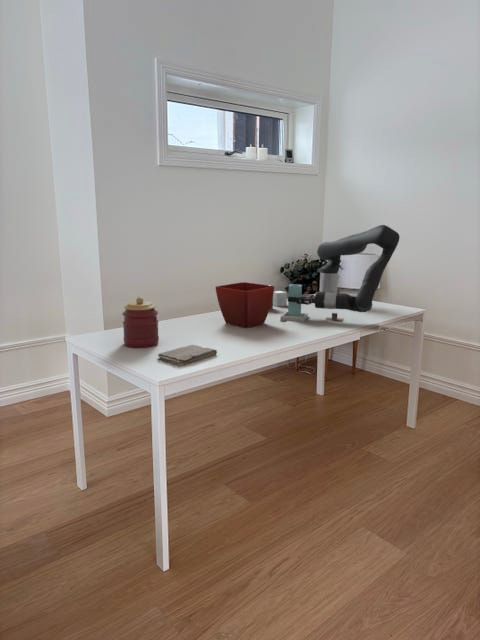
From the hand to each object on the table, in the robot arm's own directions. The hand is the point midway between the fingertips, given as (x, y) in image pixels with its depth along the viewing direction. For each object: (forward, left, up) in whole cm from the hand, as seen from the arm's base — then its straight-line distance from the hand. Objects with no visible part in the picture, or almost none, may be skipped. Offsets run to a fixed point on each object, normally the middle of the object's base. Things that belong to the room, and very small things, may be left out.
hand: (289, 298), depth 220 cm
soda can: (-19, -16, -10) cm, 27 cm away
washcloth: (+71, -19, -11) cm, 74 cm away
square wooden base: (-3, +21, -10) cm, 23 cm away
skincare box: (-31, -12, -10) cm, 35 cm away
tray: (0, +3, -10) cm, 10 cm away
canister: (+61, -42, -10) cm, 75 cm away
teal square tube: (0, +3, -7) cm, 7 cm away
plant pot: (+16, -16, -10) cm, 25 cm away
